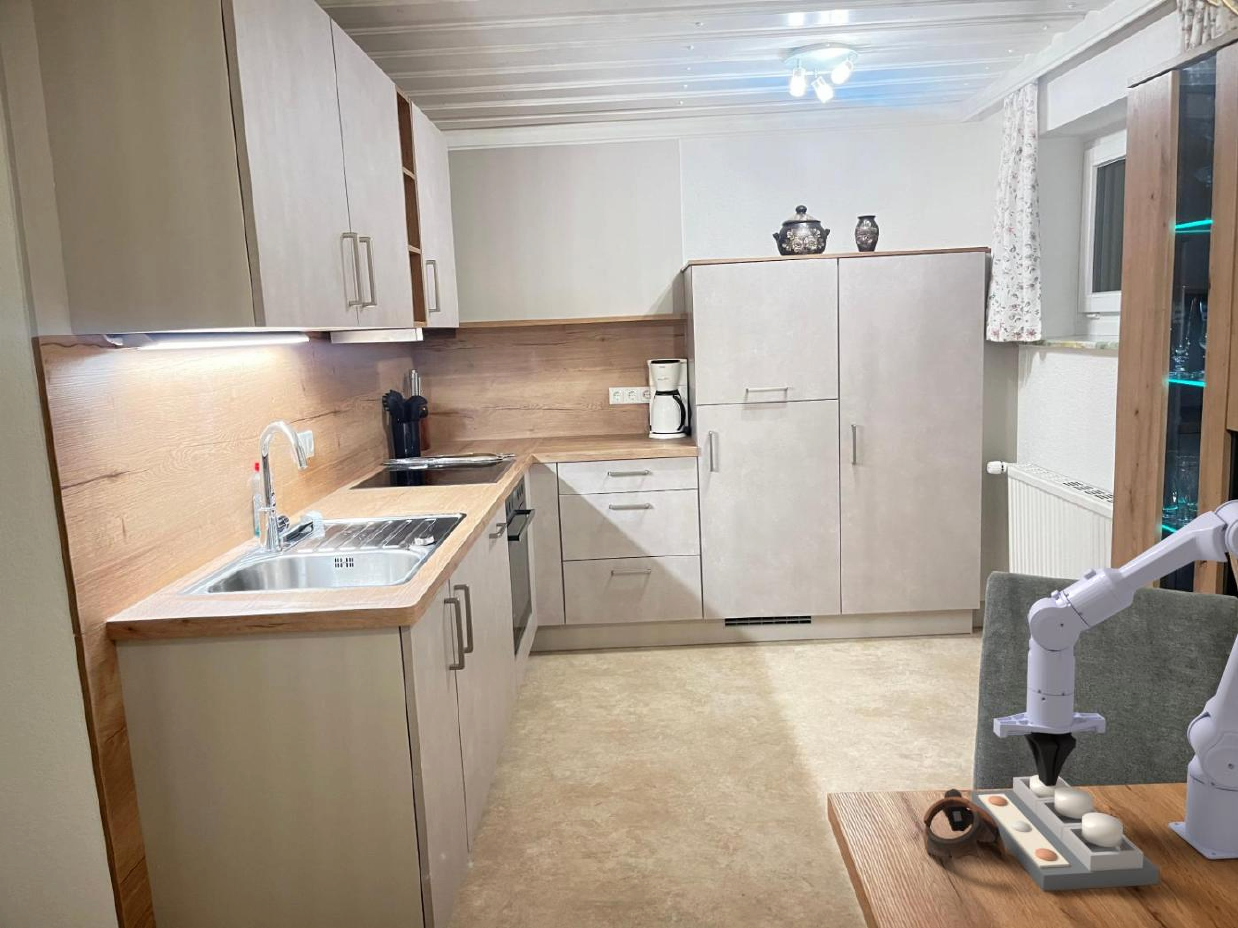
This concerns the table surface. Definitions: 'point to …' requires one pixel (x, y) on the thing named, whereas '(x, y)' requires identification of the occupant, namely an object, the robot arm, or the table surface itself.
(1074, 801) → the button middle
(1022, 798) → the button board
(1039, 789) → the button
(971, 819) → the brown broken pot
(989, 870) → the table surface
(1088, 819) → the button
